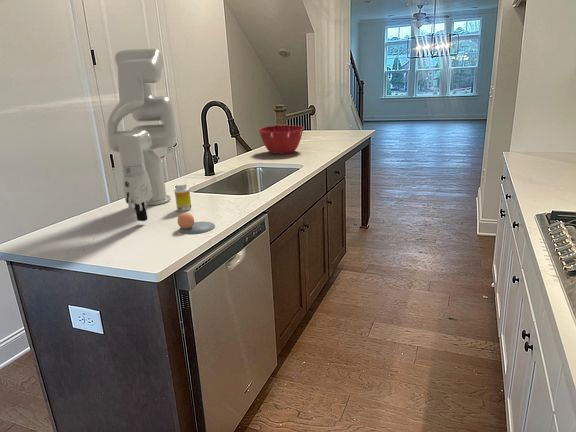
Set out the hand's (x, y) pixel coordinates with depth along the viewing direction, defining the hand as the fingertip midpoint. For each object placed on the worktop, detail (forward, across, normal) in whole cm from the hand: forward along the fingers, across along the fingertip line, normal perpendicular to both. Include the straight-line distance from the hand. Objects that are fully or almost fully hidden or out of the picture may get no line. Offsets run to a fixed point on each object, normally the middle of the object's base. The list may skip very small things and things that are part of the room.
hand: (142, 220), depth 157 cm
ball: (-1, -2, -19) cm, 19 cm away
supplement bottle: (+2, +19, -6) cm, 20 cm away
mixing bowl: (+2, +139, -4) cm, 139 cm away
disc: (+2, 0, -22) cm, 22 cm away
